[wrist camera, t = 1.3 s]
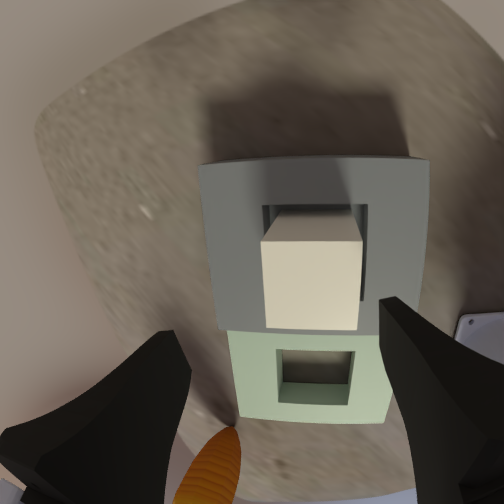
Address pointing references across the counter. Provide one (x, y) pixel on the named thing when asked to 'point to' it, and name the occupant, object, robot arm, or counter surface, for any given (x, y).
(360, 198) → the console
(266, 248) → the peg
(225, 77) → the counter surface
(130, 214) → the counter surface
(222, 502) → the carrot
